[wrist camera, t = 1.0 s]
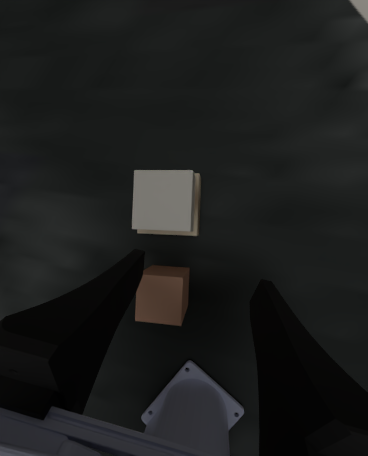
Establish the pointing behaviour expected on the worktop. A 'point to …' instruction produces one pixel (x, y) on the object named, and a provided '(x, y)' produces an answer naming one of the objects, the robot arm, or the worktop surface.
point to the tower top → (164, 200)
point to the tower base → (196, 215)
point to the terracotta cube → (163, 295)
